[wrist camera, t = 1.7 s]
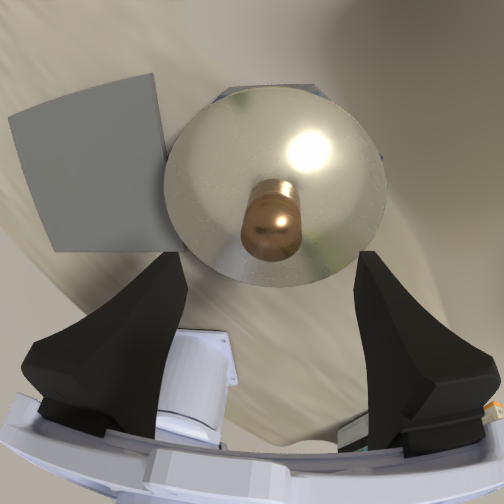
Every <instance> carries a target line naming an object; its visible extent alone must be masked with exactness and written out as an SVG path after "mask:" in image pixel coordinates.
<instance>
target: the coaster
mask: <svg viewBox="0 0 504 504" xmlns="http://www.w3.org/2000/svg"><path fill="white" fill-rule="evenodd" d="M8 121H9V125H10V129H11V132H12V136H13V140H14V143H15V147H16V150H17V153H18V157H19V160H20V163H21V166H22V169H23V172H24V175H25V178H26V181H27V184H28V187H29V190H30V193H31V195H32V198H33V201H34V203H35V206H36V209H37V211H38V214H39V216H40V219H41V221H42V224H43V226H44V228H45V231H46V233H47V236H48V238H49V240H50V242H51V245H52V247H53V249H54V251H55V252H185V249H186V245H185V244H184V242H183V241H182V240H181V238H180V237H179V235H178V233H177V232H176V230H175V228H174V226H173V224H172V222H171V220H170V217H169V214H168V211H167V207H166V203H165V196H164V176H165V168H166V162H167V161H168V158H167V152H166V147H165V142H164V136H163V130H162V125H161V119H160V113H159V107H158V101H157V95H156V88H155V82H154V75H153V73H150V74H145V75H140V76H135V77H131V78H126V79H122V80H118V81H114V82H110V83H106V84H102V85H99V86H95V87H92V88H88V89H85V90H81V91H78V92H75V93H72V94H68V95H65V96H62V97H59V98H56V99H53V100H51V101H48V102H45V103H42V104H39V105H37V106H34V107H31V108H29V109H26V110H24V111H21V112H19V113H16V114H14V115H12V116H10V117H8Z"/></svg>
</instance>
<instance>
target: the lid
mask: <svg viewBox="0 0 504 504" xmlns="http://www.w3.org/2000/svg"><path fill="white" fill-rule="evenodd" d="M386 195H387V186H386V176H385V171H384V167H383V163H382V161H381V158H380V156H379V153H378V151H377V149H376V147H375V145H374V143H373V142H372V140H371V138H370V137H369V135H368V134H367V133H366V132H365V130H364V129H363V128H362V127H361V126H360V124H359V123H358V122H357V121H356V120H355V119H354V118H353V117H352V116H351V115H349V114H348V113H347V112H346V111H345V110H343V109H342V108H340V107H339V106H337V105H336V104H334V103H333V102H331V101H329V100H327V99H325V98H323V97H321V96H319V95H317V94H313V93H310V92H307V91H304V90H300V89H295V88H289V87H271V86H267V87H258V88H251V89H247V90H243V91H239V92H236V93H233V94H231V95H228V96H226V97H224V98H221V99H219V100H218V101H216V102H214V103H213V104H211V105H209V106H208V107H207V108H205V109H204V110H203V111H202V112H200V113H199V114H198V115H197V116H196V117H194V118H193V119H192V120H191V122H190V123H189V124H188V125H187V126H186V127H185V128H184V129H183V131H182V132H181V134H180V135H179V137H178V138H177V140H176V141H175V143H174V145H173V148H172V150H171V152H170V154H169V157H168V161H167V164H166V168H165V176H164V196H165V203H166V207H167V211H168V214H169V217H170V220H171V222H172V224H173V226H174V228H175V230H176V232H177V233H178V235H179V237H180V238H181V240H182V241H183V242H184V244H185V245H186V246H187V247H188V249H189V250H190V251H191V252H192V253H193V254H194V255H195V256H196V257H197V258H199V259H200V260H201V261H202V262H204V263H205V264H206V265H208V266H209V267H211V268H212V269H214V270H216V271H217V272H219V273H221V274H223V275H225V276H227V277H229V278H232V279H235V280H237V281H240V282H244V283H247V284H251V285H257V286H263V287H293V286H300V285H305V284H309V283H313V282H316V281H319V280H322V279H324V278H327V277H329V276H331V275H333V274H335V273H337V272H339V271H340V270H342V269H343V268H345V267H346V266H348V265H349V264H350V263H351V262H353V261H354V260H355V259H356V258H357V257H358V256H359V251H364V250H365V249H366V248H367V246H368V245H369V243H370V242H371V241H372V239H373V238H374V236H375V234H376V232H377V230H378V228H379V226H380V223H381V220H382V218H383V215H384V210H385V205H386Z"/></svg>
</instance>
